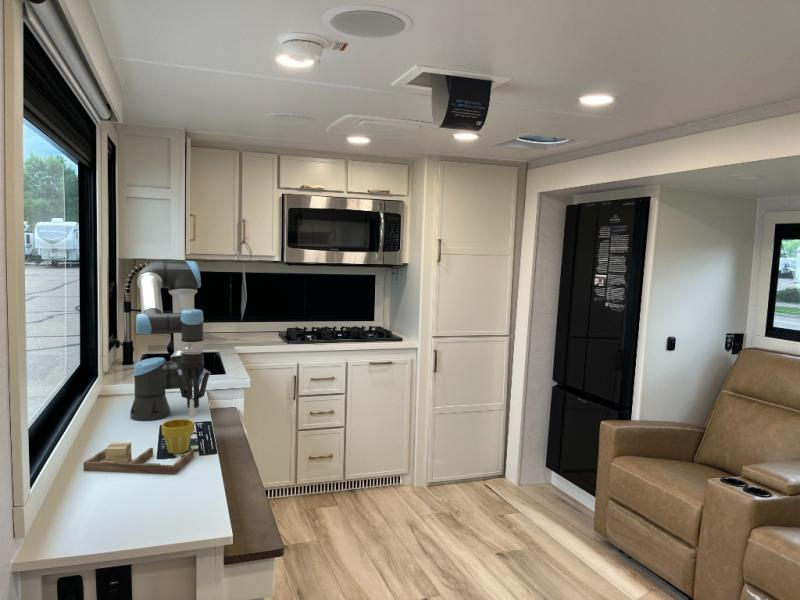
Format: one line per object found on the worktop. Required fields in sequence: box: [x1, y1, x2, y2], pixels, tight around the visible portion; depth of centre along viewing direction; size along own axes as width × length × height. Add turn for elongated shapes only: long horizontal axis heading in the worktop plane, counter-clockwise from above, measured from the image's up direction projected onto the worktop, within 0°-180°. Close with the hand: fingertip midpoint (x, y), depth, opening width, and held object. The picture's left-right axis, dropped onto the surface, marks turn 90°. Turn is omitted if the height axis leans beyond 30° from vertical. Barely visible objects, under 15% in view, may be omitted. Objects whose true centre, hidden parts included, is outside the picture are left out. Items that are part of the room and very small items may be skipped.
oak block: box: [104, 441, 133, 463], centre depth 189 cm, size 6×6×6 cm
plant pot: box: [161, 418, 195, 455], centre depth 201 cm, size 10×10×10 cm
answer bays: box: [82, 447, 195, 475], centre depth 189 cm, size 15×29×3 cm, turn 87°
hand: (193, 416), depth 213 cm, fingers closed
